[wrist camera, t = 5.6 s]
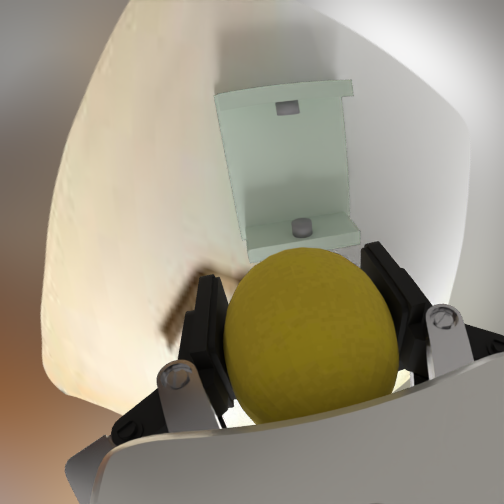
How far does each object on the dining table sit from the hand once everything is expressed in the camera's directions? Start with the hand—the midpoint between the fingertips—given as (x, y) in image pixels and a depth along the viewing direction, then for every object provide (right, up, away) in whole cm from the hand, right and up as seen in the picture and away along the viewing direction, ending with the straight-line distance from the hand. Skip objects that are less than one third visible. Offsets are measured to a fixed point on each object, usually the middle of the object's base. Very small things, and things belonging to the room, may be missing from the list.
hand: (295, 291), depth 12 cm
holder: (+1, +9, +13) cm, 16 cm away
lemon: (0, +1, +1) cm, 1 cm away
